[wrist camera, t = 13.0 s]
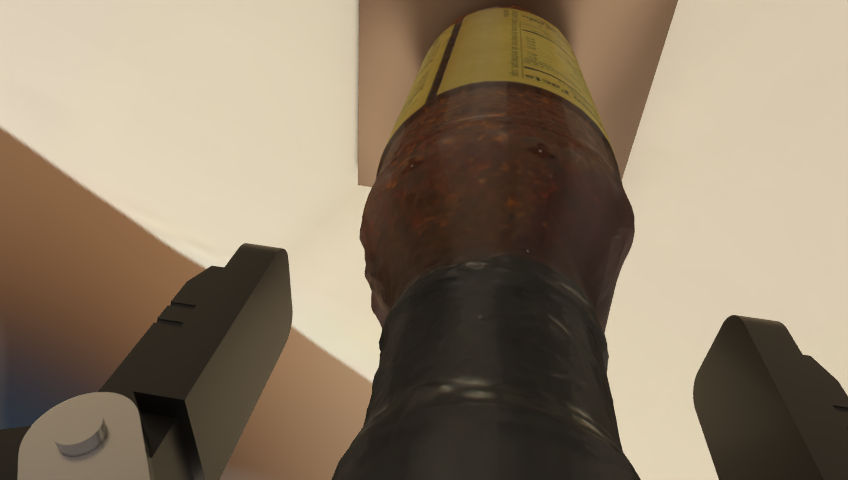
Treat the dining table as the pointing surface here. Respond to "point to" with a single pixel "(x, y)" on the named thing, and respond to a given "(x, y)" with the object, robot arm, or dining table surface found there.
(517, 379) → the sauce bottle
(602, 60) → the walnut board
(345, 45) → the dining table surface
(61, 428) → the robot arm
